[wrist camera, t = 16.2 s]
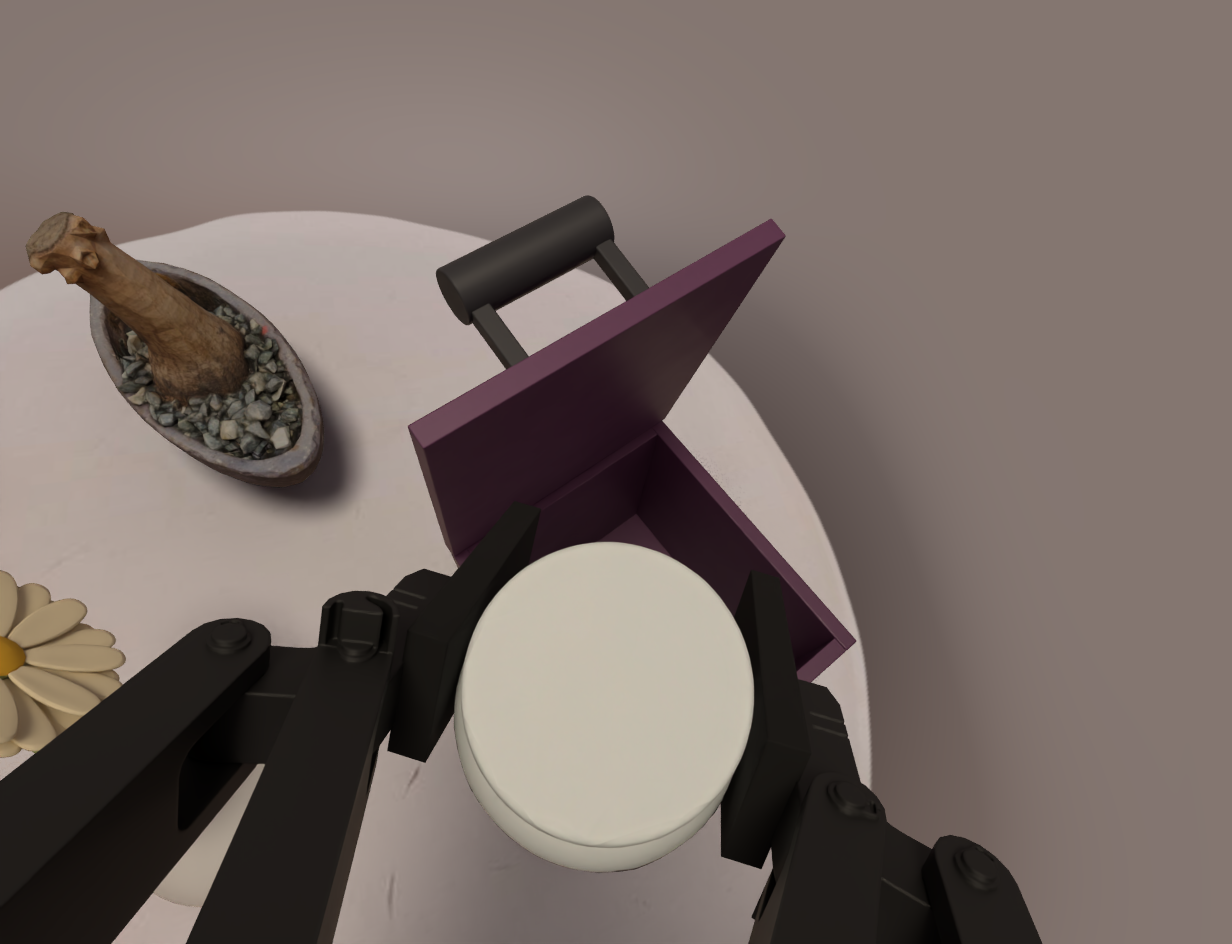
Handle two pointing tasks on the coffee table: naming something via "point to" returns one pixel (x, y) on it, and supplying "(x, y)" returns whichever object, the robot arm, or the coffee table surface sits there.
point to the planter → (191, 357)
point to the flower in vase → (84, 708)
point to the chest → (683, 534)
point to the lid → (569, 363)
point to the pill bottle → (603, 706)
